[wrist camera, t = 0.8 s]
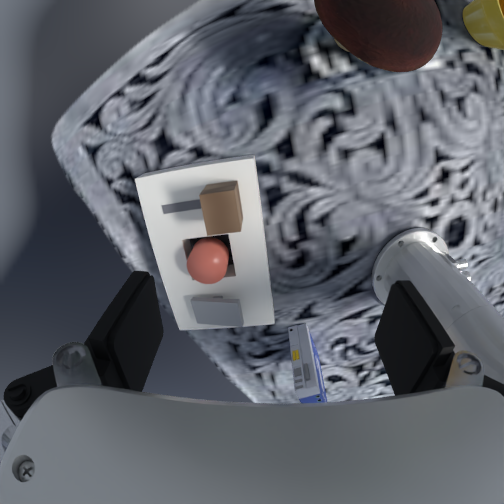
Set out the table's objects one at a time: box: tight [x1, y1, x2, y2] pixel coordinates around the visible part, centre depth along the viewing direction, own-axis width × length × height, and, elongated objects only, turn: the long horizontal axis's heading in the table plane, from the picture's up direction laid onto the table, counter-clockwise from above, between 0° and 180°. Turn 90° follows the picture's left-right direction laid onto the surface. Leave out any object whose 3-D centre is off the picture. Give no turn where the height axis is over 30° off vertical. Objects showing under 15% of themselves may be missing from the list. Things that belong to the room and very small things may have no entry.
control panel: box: [135, 155, 275, 330], centre depth 34 cm, size 13×21×4 cm, turn 8°
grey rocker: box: [190, 297, 244, 327], centre depth 35 cm, size 6×4×1 cm, turn 98°
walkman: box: [288, 323, 327, 403], centre depth 37 cm, size 8×3×12 cm, turn 22°
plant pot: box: [463, 0, 504, 50], centre depth 15 cm, size 10×10×10 cm
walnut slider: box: [199, 180, 243, 236], centre depth 28 cm, size 3×4×4 cm
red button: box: [187, 237, 229, 284], centre depth 33 cm, size 4×4×3 cm
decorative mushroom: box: [314, 0, 442, 72], centre depth 17 cm, size 11×11×15 cm
